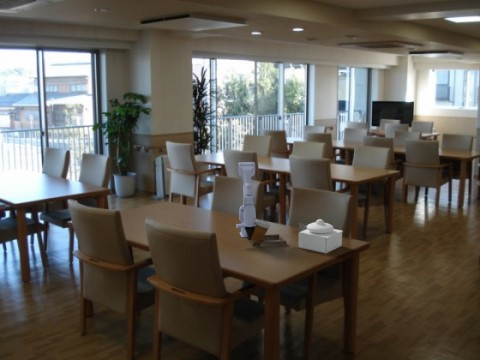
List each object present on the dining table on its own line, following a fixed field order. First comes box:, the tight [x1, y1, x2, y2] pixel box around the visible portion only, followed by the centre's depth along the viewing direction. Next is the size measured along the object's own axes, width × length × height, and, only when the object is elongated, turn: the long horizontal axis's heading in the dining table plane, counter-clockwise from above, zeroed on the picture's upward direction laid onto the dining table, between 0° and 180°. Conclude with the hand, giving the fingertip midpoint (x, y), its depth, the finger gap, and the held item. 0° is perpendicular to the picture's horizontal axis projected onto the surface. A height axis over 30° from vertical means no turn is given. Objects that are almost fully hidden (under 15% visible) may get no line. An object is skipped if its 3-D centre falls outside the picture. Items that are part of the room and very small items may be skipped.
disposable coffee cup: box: [249, 218, 271, 245], centre depth 311 cm, size 10×10×12 cm
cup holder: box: [260, 233, 287, 248], centre depth 314 cm, size 15×14×2 cm
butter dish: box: [298, 218, 344, 254], centre depth 303 cm, size 18×18×16 cm
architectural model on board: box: [297, 221, 315, 236], centre depth 324 cm, size 11×3×10 cm, turn 40°
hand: (249, 239), depth 311 cm, fingers closed
